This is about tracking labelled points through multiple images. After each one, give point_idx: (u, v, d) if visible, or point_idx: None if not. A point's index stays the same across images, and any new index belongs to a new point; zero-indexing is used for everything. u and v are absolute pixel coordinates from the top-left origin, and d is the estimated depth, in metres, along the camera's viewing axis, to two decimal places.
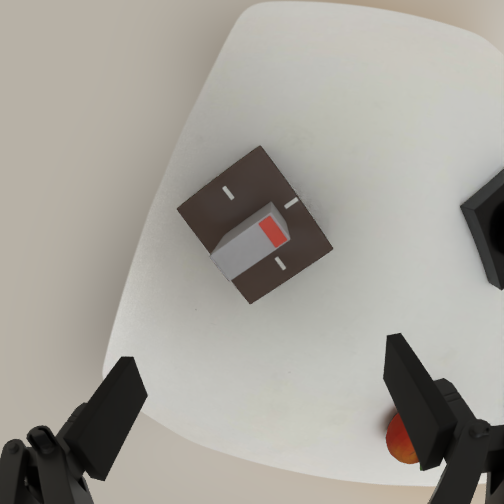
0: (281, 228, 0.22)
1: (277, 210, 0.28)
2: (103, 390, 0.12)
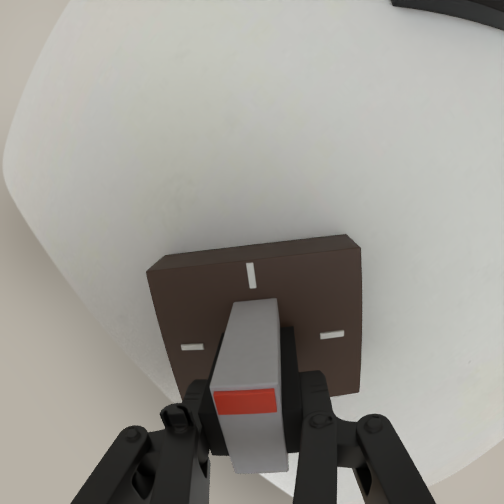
0: (248, 387, 0.10)
1: (249, 306, 0.17)
2: None
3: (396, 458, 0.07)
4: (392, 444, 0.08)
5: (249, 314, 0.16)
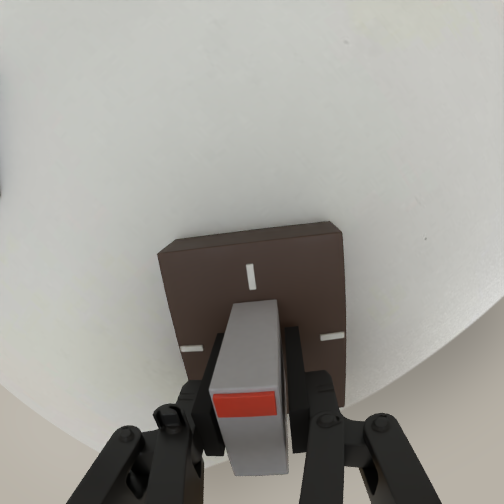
0: (248, 389, 0.10)
1: (248, 307, 0.16)
2: (215, 364, 0.14)
3: (403, 457, 0.07)
4: (399, 444, 0.08)
5: (249, 316, 0.15)
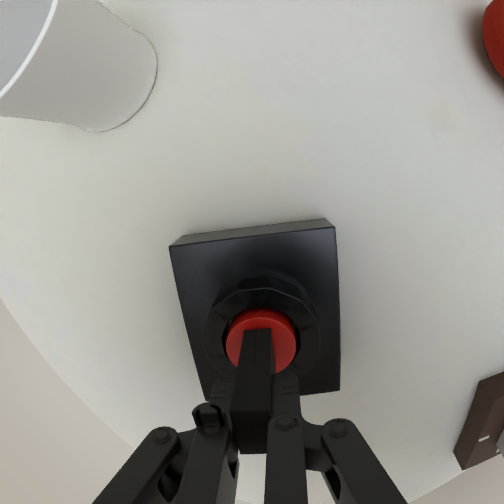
0: None
1: None
2: (246, 360, 0.14)
3: (364, 462, 0.07)
4: (359, 449, 0.08)
5: None
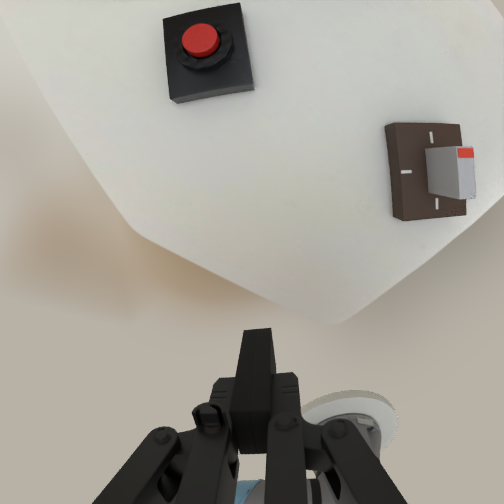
0: (465, 147, 0.25)
1: None
2: (246, 360, 0.14)
3: (364, 462, 0.07)
4: (359, 448, 0.08)
5: None
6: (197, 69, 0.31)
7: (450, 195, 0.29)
